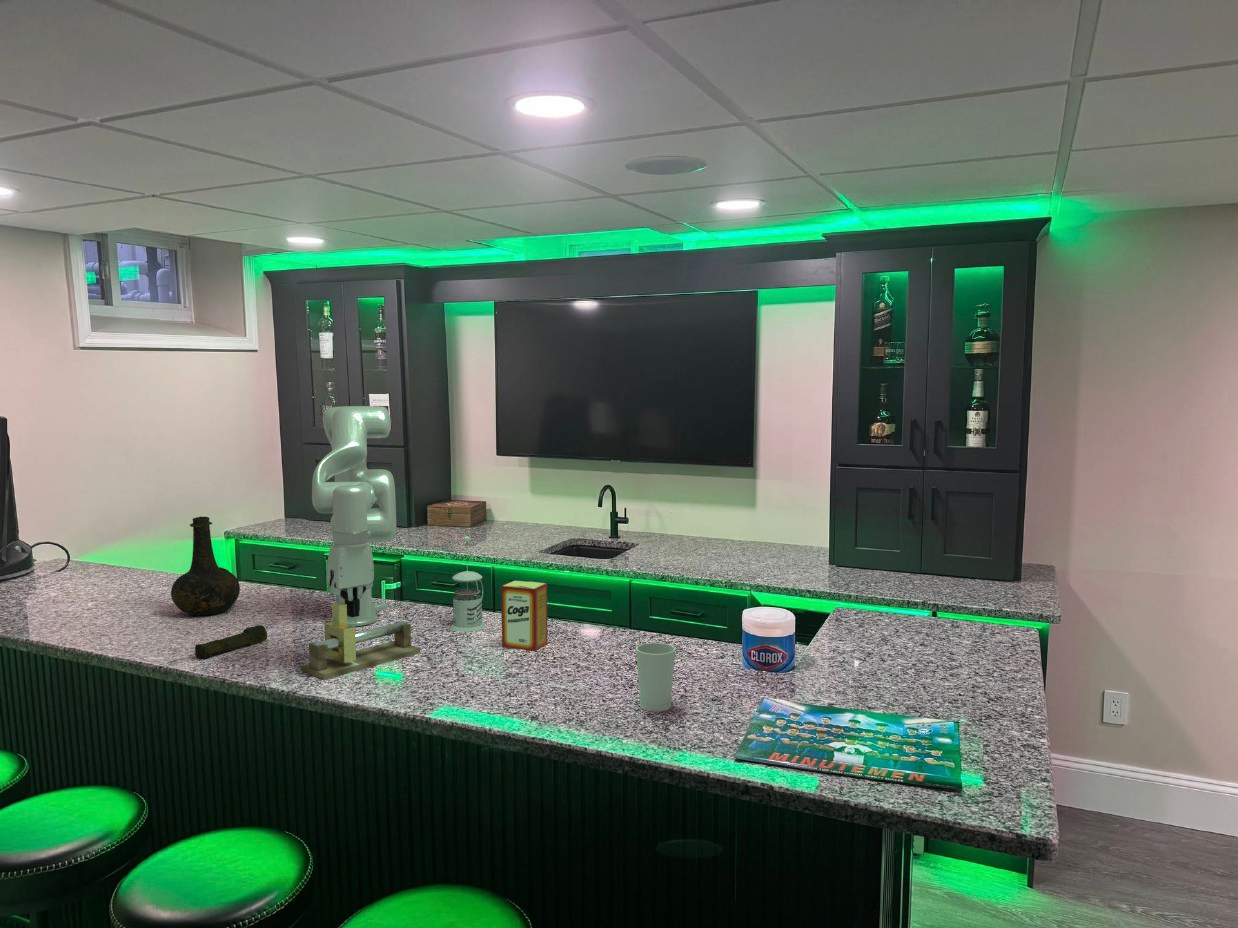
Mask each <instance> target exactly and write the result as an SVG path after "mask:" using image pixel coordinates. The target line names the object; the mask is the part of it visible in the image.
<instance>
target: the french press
mask: <svg viewBox="0 0 1238 928" xmlns="http://www.w3.org/2000/svg"><path fill="white" fill-rule="evenodd" d="M470 541H471V537H470V536H467V535H466V536H464V537H463V542H466V545H465V546H466V553H468V542H470ZM468 567H469V566H468V565H466V570H465V571H462V572H458V573H456V574H454V575H453V576H452V577H451V578H452V580H453V581H454V582H458V583H466V588H461V589H457V590H455V591H454V592H453V593H454V595H455V596H453V597H452V598H453V600H452V602H453V603H452V604H453V605H452V607H453V611H452V612H453V618H452V619H453V623H451V625H450V626H449V629H450V630H452V631H454V632H455V631H456V632H463V633H464V632H475V631H480V630H484V629H485V628H486V627H487V625H486V624H485V623H484V622H483V612H482V611H483V608H482V606H483V603H482V601H483V597H484V585H483V582H482V579H483V576H482V575H481V574H479V572H476V571H469V570H468ZM474 582H475V583H474ZM479 582H480V584H481V589H482V590H480V589H479V585H478V584H479ZM468 583H472V585H476V588H469V587H468V586H469V585H468ZM481 593H482V595H480V594H481ZM475 608H476V609H475Z"/></svg>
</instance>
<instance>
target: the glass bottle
mask: <svg viewBox="0 0 1238 928" xmlns="http://www.w3.org/2000/svg"><path fill="white" fill-rule="evenodd" d="M210 525H213V522H211V521H210V517H209V516H197V517H196V516H195V517H193V518H192V523H189V527H191V528H192V531H193V532H192V534H193V535H192V556H191V558H192V559H191V564H190V569H189V570H188V571H187V572H184V573H183V574H182V575H180V576H179V577H177V579H175V581H174V582H173V584H172V586H171V588H170V597H171V599H172V600H171V601H172V602H173V604H174V605H175V607H177V608H178V610H180V611H181V612H182V613H185V614H187V615H189V616H198V617H199V616H200V617H202V616H211V615H215V614H221V613H223V612H225V611H227V610H228V609H230V608H231V607H232V606H233V605H234V604H235V603H236V601H237V600H238V598H239V595H240V592H241V586H240V582H239V580H238V578H237V576H236V575H235V574H234V573H232V572H230V571H229V570H228V569H227V568H224V567H220V566H219V565H218V563H217V561H216V558H215V554H214V550H213V549H214V548H213V544H212V543H213V542H212V536H211V527H210Z"/></svg>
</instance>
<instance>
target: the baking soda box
mask: <svg viewBox="0 0 1238 928" xmlns="http://www.w3.org/2000/svg"><path fill="white" fill-rule="evenodd" d="M500 587H501V647H502V648H507V649H518V650H524V651H532V652H537V651H539V650H540V649H541V648H543V647H545V646H546V645H548V583H546V582H545V583H544V582H538V581H536V582H535V581H524V580H523V581H522V580H512V581H510V582H507V583H504V584H503V585H501V586H500Z"/></svg>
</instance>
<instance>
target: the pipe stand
mask: <svg viewBox="0 0 1238 928" xmlns="http://www.w3.org/2000/svg"><path fill="white" fill-rule="evenodd" d="M399 622H403V621H401V620H400V621H396V622H393V624H395V623H399ZM405 623H406V624H403V625H401V626H402V631H401V632H399V633H395V634H393V635H394V640H393V641H389V642H385V643H382V644H378V645H374V646H369V647H367V648H362V649H359V650H356V660H354V661H351V662H347V663H343V662H340V661H337V660H334V659H332V658H329V657H327V654H326V645H325V644H322V645H315V644H314V643H316V642H317V641H313V642H310V643H309V642H308V658H309V659H308V663H304V664H301V665H300V671H301V672H303V673H305V674H308V675H310V676H314V677H316V678H318V679H320V680H323V681H325V680H328V679H333V678H336V677H340V676H343V675H347V674H351V673H354V672H357V671H360V670H361V671H362V670H365V669H369V668H372V667H375V666H379V665H382V664H386V663H389V662H393V661H397V660H400V659H404V658H408V657H410V656H414V655H418V654H421V648H420V647H418V646H414V645H412V631H411V630H412V627H411V623H407V622H405Z"/></svg>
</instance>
